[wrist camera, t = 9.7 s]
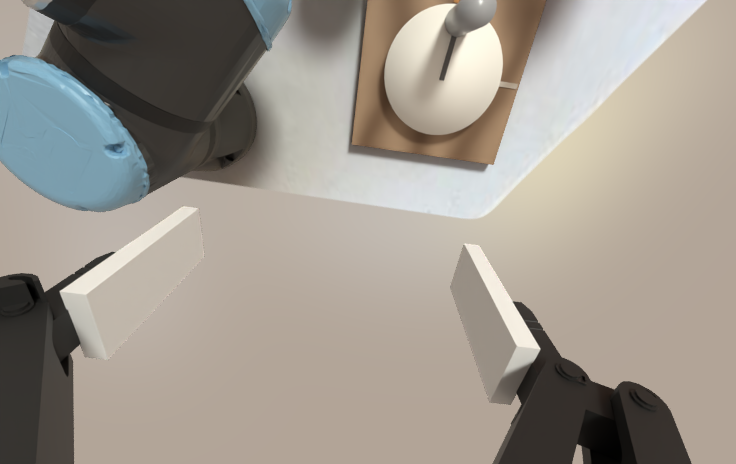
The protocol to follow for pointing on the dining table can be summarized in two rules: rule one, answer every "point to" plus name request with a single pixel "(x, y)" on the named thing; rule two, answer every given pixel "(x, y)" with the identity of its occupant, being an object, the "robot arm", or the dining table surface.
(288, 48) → the dining table surface
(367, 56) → the dial board
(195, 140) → the robot arm
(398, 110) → the dial
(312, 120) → the dining table surface
